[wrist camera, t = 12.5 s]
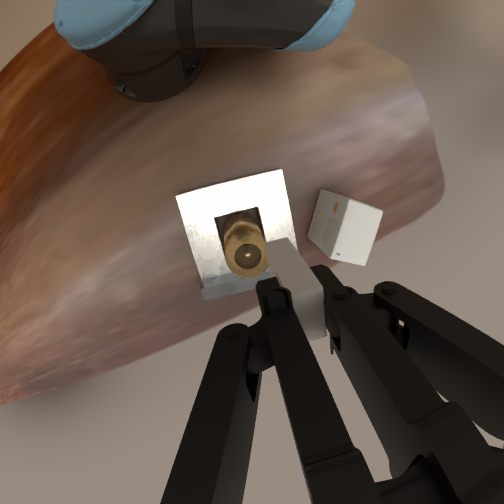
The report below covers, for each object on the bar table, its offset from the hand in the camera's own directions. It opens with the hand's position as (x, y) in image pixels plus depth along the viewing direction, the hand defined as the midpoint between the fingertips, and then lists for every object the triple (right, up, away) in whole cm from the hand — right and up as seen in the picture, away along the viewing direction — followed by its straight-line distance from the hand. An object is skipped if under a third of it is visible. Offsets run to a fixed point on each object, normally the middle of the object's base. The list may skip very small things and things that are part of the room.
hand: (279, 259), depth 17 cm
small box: (+10, +6, +25) cm, 28 cm away
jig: (-3, +4, +24) cm, 25 cm away
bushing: (-3, +4, +24) cm, 25 cm away
